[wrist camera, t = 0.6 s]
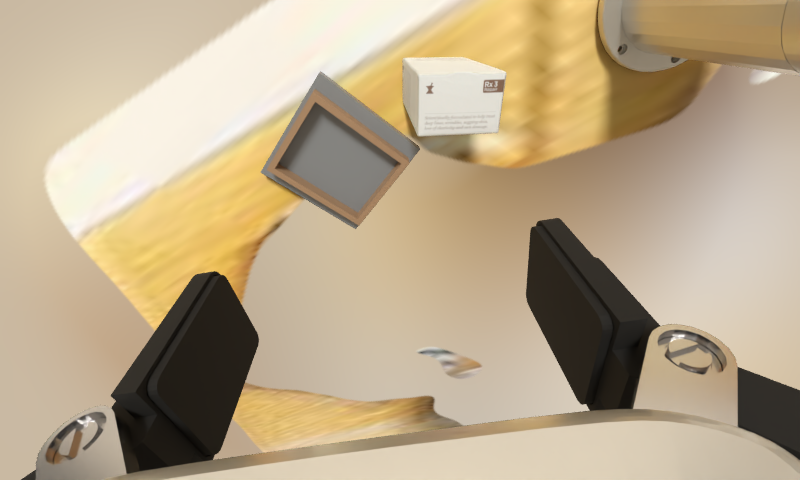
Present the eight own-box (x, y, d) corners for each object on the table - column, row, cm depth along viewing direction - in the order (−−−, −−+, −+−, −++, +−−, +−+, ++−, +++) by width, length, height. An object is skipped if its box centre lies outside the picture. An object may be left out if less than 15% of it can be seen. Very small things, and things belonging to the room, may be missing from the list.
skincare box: (402, 104, 35) (413, 143, 25) (401, 54, 32) (413, 73, 22) (463, 102, 35) (499, 140, 25) (467, 52, 32) (508, 70, 22)
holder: (320, 71, 33) (316, 75, 31) (418, 146, 37) (421, 154, 35) (263, 168, 37) (256, 178, 35) (356, 224, 42) (355, 235, 40)
